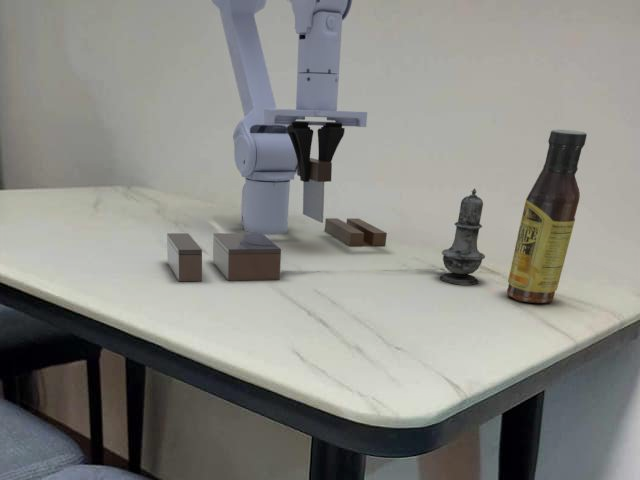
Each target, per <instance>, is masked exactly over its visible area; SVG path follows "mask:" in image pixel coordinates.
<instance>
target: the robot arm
mask: <svg viewBox="0 0 640 480" xmlns="http://www.w3.org/2000/svg"><path fill="white" fill-rule="evenodd" d="M286 1H287V2H289V3H290V4H291V9H292V12H293V15H294V30H295V34H297V35H298V42H297V68H296V69H297V72H296V73H297V74H296V75H297V76H296V96H295V97H296V99H295V100H296V101H295V109H291V108H290V109H289V108H287V109H286V108H277V106H276V101H275V97H274V92H273V89H272V85H271V84H272V83H271V80H270V77H269V76H270V75H269V73H268V68H267V64H266V60H265V55H264V51H263V48H262V43H261V39H260V35H259V31H258V27H257V22H256V18H255V14H257V13H259V12H260V11H262V10H263V9H264V8H265V6H266V4H267V0H211V2H212V4H213V5H214V6H215V7H216V8H217V9H219V14H220V15H219V16H220V19H221V24H222V28H223V33H224V36H225V37H224V38H225V41H226V45H227V50H228V54H229V58H230V62H231V65H232V70H233V74H234V79H235V83H236V87H237V91H238V95H239V99H240V100H239V101H240V103H241V107H242V112H243V118H242V119H241V120H240V121H239V123H237V125H236V126H235V129H234V130H233V133H232V139H233V140H232V141H233V147H234V149H233V155H234V157H233V158H234V163H235V167H236V168H237V171H238V172H239V173H240V175H241V177H242V178H244V179H245V180H244V181H245V182H244V184H243V186H242V189H241V205H240V206H241V213H240V224H241V226H243V230H244V231H245V232H248V233H262V234H263V235H282V234H286V233H287V232H288V226H289V225H288V224H289V210H290V209H289V207H290V205H289V204H290V191H291V189H290V188H291V180H292V181H293V180H295V175H297V161H298V166H299V171H300V176H299V178H300V179H299V181H300V182H309V173H310V158H311V152H312V143H313V136H314V130H313V129H311V126H321V127H320V128H318V129H317V131H316V132H317V143H318V144H317V145H318V155H317V157H318V158H317V160H322V161H326V162H330V163H332V161H333V158H334V156H335V153H336V151H337V149H338V147H339V145H340V143H341V140H342V139H343V137H344V135H345V127H357V128H367V122H368V112H367V111H349V110H348V111H347V110H338V96H339V83H340V82H339V80H340V65H341V47H342V31H343V21H344V20H345V19H346V18H347V17H348V15H349V13H350V11H351V9H352V8H351V7H352V4H353V0H286ZM306 118H326V121H314V120H313V121H311V120H306Z"/></svg>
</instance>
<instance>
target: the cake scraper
mask: <svg viewBox="0 0 640 480" xmlns="http://www.w3.org/2000/svg"><path fill="white" fill-rule="evenodd" d="M332 167H333V163H332V162H331V163H330V162H326V161H322V160H318V158H312V157H310V173H309V182H303V181H302V182H303V184H302V185H303V188H302V189H303V190H302V191H303V192H302V215H304V216H306V217H308V218H310V219H313V220H315V221H317V222H319V223H321V224H323V223H324V205H325V183H327V182H332V174H333V173H332V169H333V168H332ZM296 175H297V176H298V177H300V171H299V166H298V161H297V174H296Z"/></svg>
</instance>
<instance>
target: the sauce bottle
mask: <svg viewBox="0 0 640 480" xmlns="http://www.w3.org/2000/svg"><path fill="white" fill-rule="evenodd" d="M587 135H588V133H587V132H584V131H579V130H571V129H560V128H559V129H558V128H557V129H552V130H550V134H549V137H548V141H547V142H548V149H547V153H546V158H545V161H544V164H543V168H542V170H541V172H540V173H539V175H538V176H537V179H536V180H535V182H534V184H533V186H532V188H531V189H530V191H529V193H528V195H527V197H526V199H525V201H524V205H523V206H524V207H523V210H522V215H521V219H520V224H519V229H518V233H517V238H516V242H515V246H514V247H515V248H514V251H513V256H512V261H511V264H510V265H511V266H510V269H509V275H508V280H507V282H508V285H507V290H506V294H507V296H508V297H510V298H512V299H513V300H516V301H518V302H522V303H530V304H549V303H551V302H552V301H553V300H554V298H555V294H556V291H558V288H559V284H560V279H561V275H562V272H563V269H564V264H565V259H566V257H567V253H568V249H569V244H570V241H571V238H572V233H573V229H574V226H575V222H576V218H575V217H576V215H577V210H578V205H579V202H580V198H581V197H580V196H581V195H580V194H581V193H580V188H579V186H578V181H577V178H576V173H577V172H578V169H579V168H578V164H579V161H580V157H581V153H582V150H583V148H584V146H585V145H586V140H587Z"/></svg>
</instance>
